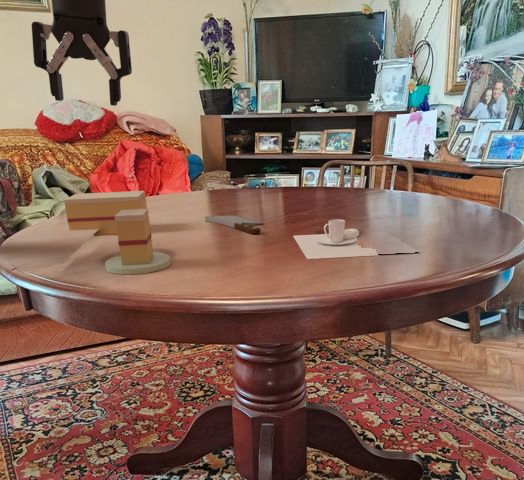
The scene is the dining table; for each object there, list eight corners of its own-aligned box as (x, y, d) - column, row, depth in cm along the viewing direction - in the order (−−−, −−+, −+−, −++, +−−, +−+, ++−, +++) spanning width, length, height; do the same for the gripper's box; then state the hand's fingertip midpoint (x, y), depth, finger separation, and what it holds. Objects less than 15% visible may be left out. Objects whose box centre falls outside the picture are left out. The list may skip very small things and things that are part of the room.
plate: (99, 276, 82) (98, 270, 82) (112, 259, 92) (111, 254, 92) (168, 272, 83) (167, 266, 82) (173, 256, 93) (172, 250, 92)
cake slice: (121, 265, 84) (114, 215, 81) (127, 256, 90) (120, 209, 86) (149, 263, 84) (143, 214, 81) (153, 255, 90) (148, 208, 87)
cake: (70, 236, 113) (63, 199, 110) (81, 228, 122) (75, 193, 119) (143, 233, 114) (138, 196, 111) (149, 225, 123) (144, 190, 120)
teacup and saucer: (355, 236, 102) (356, 215, 101) (365, 245, 95) (366, 223, 93) (312, 238, 102) (312, 218, 100) (319, 247, 95) (319, 225, 93)
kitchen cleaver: (285, 227, 111) (244, 230, 106) (285, 231, 111) (244, 235, 107) (238, 213, 131) (201, 215, 126) (238, 217, 131) (202, 220, 127)
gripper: (131, -13, 77) (135, 104, 85) (35, -24, 76) (48, 96, 84) (122, -19, 71) (127, 109, 79) (16, -31, 70) (32, 100, 78)
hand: (86, 102), depth 82 cm, fingers open, 8 cm apart
